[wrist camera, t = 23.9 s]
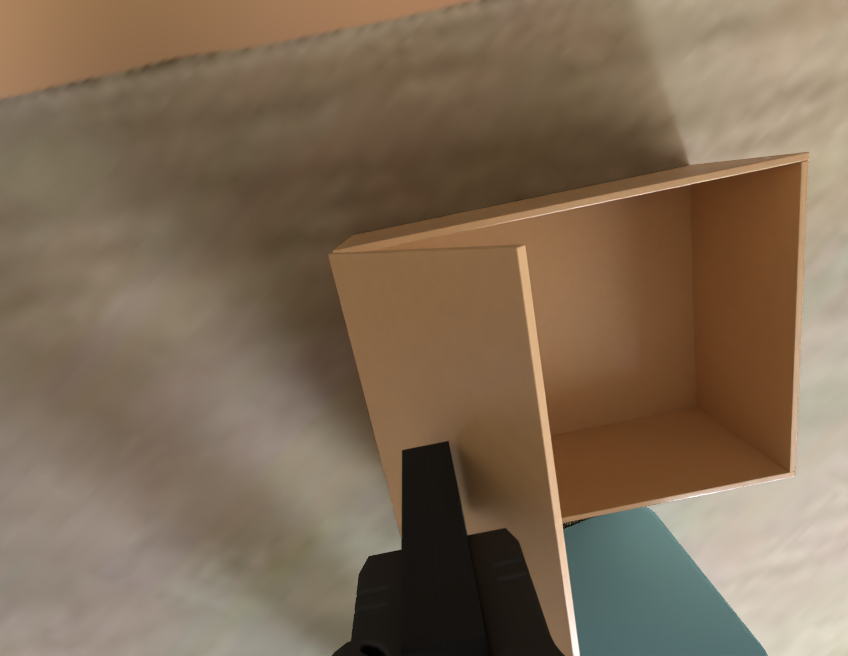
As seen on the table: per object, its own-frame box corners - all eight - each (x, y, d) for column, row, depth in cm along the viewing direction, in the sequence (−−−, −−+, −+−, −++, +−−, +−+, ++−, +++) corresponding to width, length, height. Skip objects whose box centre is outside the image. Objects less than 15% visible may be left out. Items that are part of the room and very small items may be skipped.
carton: (407, 466, 28) (409, 554, 21) (351, 235, 24) (332, 250, 17) (698, 407, 28) (795, 476, 21) (691, 164, 24) (809, 151, 17)
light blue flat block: (499, 609, 32) (555, 840, 21) (475, 562, 31) (519, 780, 19) (660, 545, 31) (812, 749, 20) (641, 495, 30) (792, 681, 18)
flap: (413, 561, 21) (408, 565, 21) (334, 252, 17) (327, 254, 17) (588, 717, 14) (583, 725, 14) (525, 243, 10) (516, 247, 9)
